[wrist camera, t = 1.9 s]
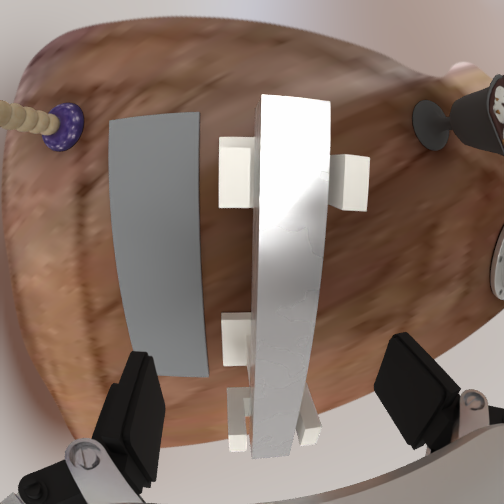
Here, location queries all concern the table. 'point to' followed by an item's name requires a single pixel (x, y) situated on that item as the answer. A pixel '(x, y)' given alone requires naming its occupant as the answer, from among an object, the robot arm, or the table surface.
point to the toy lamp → (45, 123)
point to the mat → (159, 237)
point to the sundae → (465, 120)
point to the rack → (239, 324)
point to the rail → (285, 261)
